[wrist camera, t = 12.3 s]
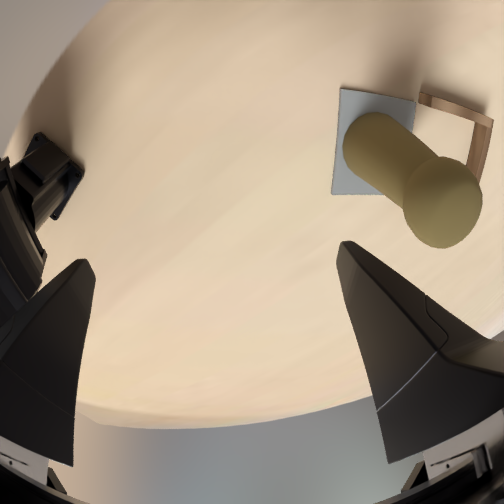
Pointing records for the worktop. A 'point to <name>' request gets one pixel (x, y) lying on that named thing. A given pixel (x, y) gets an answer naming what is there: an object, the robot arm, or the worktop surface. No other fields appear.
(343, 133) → the pad
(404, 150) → the cork
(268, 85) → the worktop surface
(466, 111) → the u-shaped wooden frame
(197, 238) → the worktop surface
